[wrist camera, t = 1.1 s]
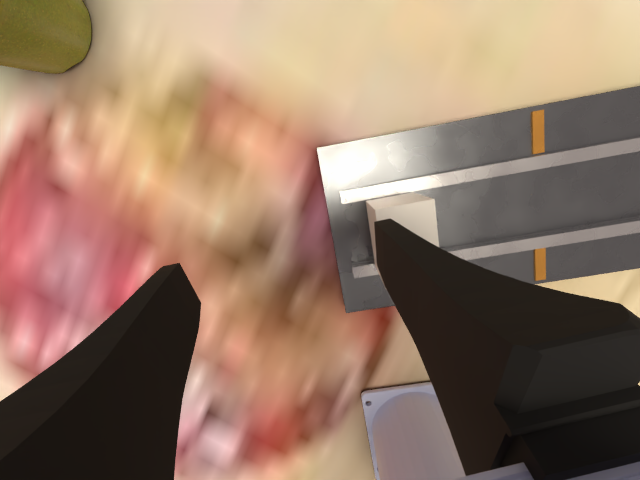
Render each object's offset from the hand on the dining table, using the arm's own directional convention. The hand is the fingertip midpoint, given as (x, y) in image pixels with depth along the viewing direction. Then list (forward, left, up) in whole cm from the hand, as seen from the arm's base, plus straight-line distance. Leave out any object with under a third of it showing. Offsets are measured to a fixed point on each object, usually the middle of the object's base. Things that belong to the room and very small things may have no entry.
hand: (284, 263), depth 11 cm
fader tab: (-2, -6, -10) cm, 11 cm away
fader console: (-2, -14, -12) cm, 18 cm away
